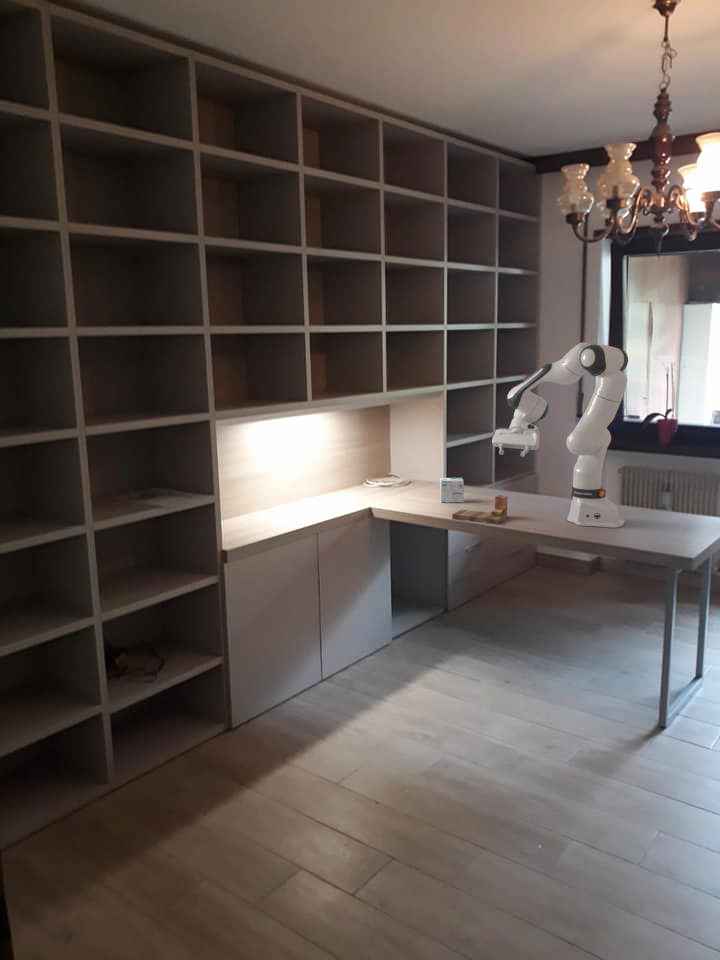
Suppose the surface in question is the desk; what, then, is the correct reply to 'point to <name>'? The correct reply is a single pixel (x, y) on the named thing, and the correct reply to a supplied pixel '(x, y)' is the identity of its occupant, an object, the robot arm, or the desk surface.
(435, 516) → the desk surface
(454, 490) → the light bulb box
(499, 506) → the brown l-shaped block
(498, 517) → the plank
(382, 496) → the desk surface
